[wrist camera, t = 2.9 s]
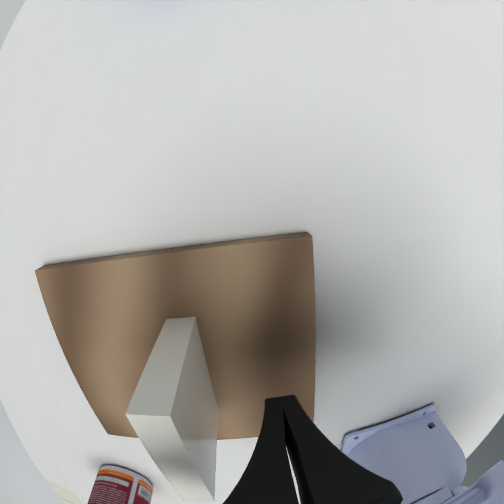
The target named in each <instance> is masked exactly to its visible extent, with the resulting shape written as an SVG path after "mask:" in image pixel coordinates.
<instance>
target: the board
mask: <svg viewBox="0 0 504 504" xmlns="http://www.w3.org/2000/svg"><path fill="white" fill-rule="evenodd" d="M35 273H36V277H37V280H38V284H39V287H40V290H41V294H42V297H43V300H44V303H45V306H46V309H47V312H48V315H49V317H50V320H51V323H52V326H53V328H54V331H55V333H56V336H57V338H58V341H59V343H60V345H61V348H62V350H63V352H64V355H65V357H66V359H67V361H68V363H69V366H70V368H71V370H72V372H73V374H74V376H75V378H76V380H77V382H78V384H79V386H80V388H81V389H82V391H83V393H84V395H85V397H86V399H87V400H88V402H89V404H90V406H91V407H92V409H93V411H94V412H95V414H96V416H97V417H98V419H99V421H100V422H101V424H102V425H103V427H104V429H105V430H106V432H107V433H108V434H111V435H118V436H126V437H136V438H139V437H138V435H137V434H136V432H135V430H134V429H133V427H132V425H131V423H130V422H129V420H128V418H127V416H126V414H125V413H126V411H127V409H128V406H129V404H130V401H131V399H132V396H133V394H134V391H135V389H136V387H137V384H138V382H139V380H140V377H141V375H142V373H143V370H144V368H145V366H146V363H147V361H148V359H149V356H150V354H151V352H152V350H153V347H154V345H155V343H156V341H157V338H158V336H159V334H160V332H161V330H162V328H163V325H164V323H165V321H166V319H172V318H185V317H196V321H197V325H198V330H199V334H200V339H201V343H202V347H203V352H204V356H205V360H206V364H207V368H208V372H209V376H210V380H211V384H212V388H213V391H214V395H215V399H216V402H217V406H218V426H217V440H223V439H239V438H251V437H259V434H260V431H261V426H262V422H263V417H264V409H265V402H264V400H265V399H267V398H274V397H281V396H287V395H295V396H296V397H297V399H298V401H299V403H300V404H301V406H302V408H303V409H304V411H305V412H306V414H307V415H308V416H309V418H310V419H311V420H312V422H313V417H314V393H315V290H314V263H313V244H312V236H311V235H310V234H309V233H307V232H304V233H295V234H286V235H277V236H269V237H260V238H251V239H243V240H234V241H226V242H218V243H210V244H201V245H193V246H185V247H177V248H170V249H162V250H154V251H146V252H139V253H131V254H124V255H116V256H109V257H102V258H94V259H87V260H80V261H73V262H66V263H59V264H52V265H45V266H42V267H40V268H39V269H37V270H35Z"/></svg>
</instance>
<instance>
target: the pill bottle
mask: <svg viewBox="0 0 504 504" xmlns="http://www.w3.org/2000/svg"><path fill="white" fill-rule="evenodd" d="M152 490H153V488H152V485H151V483H150V482H149V481H148V480H147V479H146V478H144V477H143V476H141V475H139V474H137V473H135V472H133V471H130V470H127V469H125V468H121V467H117V466H111V465H106V466H103V467H101V468H100V469H99V471H98V474H97V477H96V480H95V483H94V486H93V489H92V492H91V495H90V498H89V501H88V504H150V502H151V497H152Z"/></svg>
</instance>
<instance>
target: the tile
mask: <svg viewBox="0 0 504 504" xmlns="http://www.w3.org/2000/svg"><path fill="white" fill-rule="evenodd" d="M125 414H126V416H127V418H128V420H129V422H130V423H131V425H132V427H133V429H134V430H135V432H136V434H137V435H138V437H139V439H140V440H141V442H142V444H143V445H144V447H145V448H146V450H147V451H148V453H149V454H150V456H151V458H152V459H153V461H154V462H155V463H156V465H157V466H158V468H159V469H160V471H161V472H162V473H163V475H164V476H165V478H166V479H167V480H168V482H169V483H170V484H171V486H172V487H173V488H174V490H175V491H176V492H177V493H178V495H179V496H180V497H181V498H182V500H200V501H215V471H216V447H217V426H218V406H217V402H216V399H215V395H214V391H213V388H212V384H211V380H210V376H209V372H208V368H207V364H206V360H205V356H204V352H203V347H202V343H201V339H200V334H199V330H198V325H197V321H196V317H185V318H172V319H166V321H165V323H164V325H163V328H162V330H161V332H160V334H159V336H158V338H157V341H156V343H155V345H154V347H153V350H152V352H151V354H150V356H149V359H148V361H147V363H146V366H145V368H144V370H143V373H142V375H141V377H140V380H139V382H138V384H137V387H136V389H135V391H134V394H133V396H132V399H131V401H130V404H129V406H128V409H127V411H126V413H125Z"/></svg>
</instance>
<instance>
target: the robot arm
mask: <svg viewBox="0 0 504 504" xmlns="http://www.w3.org/2000/svg"><path fill="white" fill-rule="evenodd" d="M264 402H265V409H264V417H263V422H262V426H261V431H260V434H259V438H258V441H257V444H256V447H255V449H254V452H253V454H252V457H251V459H250V461H249V463H248V465H247V467H246V469H245V471H244V473H243V475H242V477H241V479H240V480H239V482H238V483H237V485H236V486H235V488H234V489H233V491H232V492H231V494H230V495H229V497H228V498H227V499H226V501H225V502H224V503H223V504H299V503H298V499H297V495H296V490H295V486H294V482H293V478H292V473H291V469H290V464H289V459H288V455H287V450H288V454H289V457H290V460H291V464H292V467H293V470H294V474H295V477H296V481H297V485H298V490H299V496H300V501H301V504H504V461H502V460H501V461H500V462H498V463H497V464H496V465H495V466H493V467H492V468H491V469H489V470H488V471H487V472H486V473H485V474H483V475H482V476H481V477H480V479H479V480H478V481H477V482H476V483H475V484H473V485H472V486H470V487H469V488H467V487H466V486H462V487H461V486H459V485H460V484H461V482H462V481H463V479H464V477H465V474H466V460H465V456H464V453H463V451H462V449H461V448H460V446H459V445H458V443H457V442H456V440H455V439H454V438H453V436H452V435H451V433H450V432H449V431H448V429H447V428H446V427H445V425H444V424H443V423H442V421H441V420H440V418H439V417H438V416H437V414H436V413H435V410H436V408H437V406H436V405H435V404H432V405H430V406H427V407H425V408H423V409H420V410H418V411H415V412H413V413H410V414H408V415H405V416H402V417H400V418H397V419H394V420H391V421H389V422H386V423H383V424H380V425H376V426H373V427H370V428H367V429H363V430H360V431H356V432H353V433H349V434H347V435H346V436H345V437H344V442H343V446H342V451H340V450H339V449H338V448H337V447H336V446H335V445H333V444H332V443H331V442H330V441H329V440H328V439H327V438H326V437H325V436H324V434H323V433H322V432H321V431H320V430H319V429H318V428H317V427H316V425H315V424H314V423H313V422H312V420H311V419H310V418H309V416H308V415H307V414H306V412H305V411H304V409H303V408H302V406H301V404H300V403H299V401H298V399H297V397H296V396H295V395H287V396H281V397H274V398H267V399H265V400H264ZM286 447H287V450H286Z"/></svg>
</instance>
